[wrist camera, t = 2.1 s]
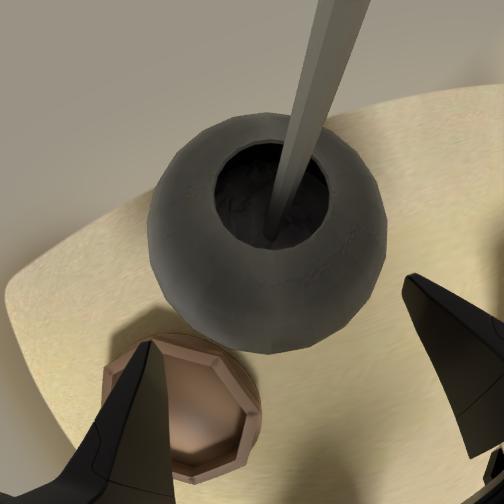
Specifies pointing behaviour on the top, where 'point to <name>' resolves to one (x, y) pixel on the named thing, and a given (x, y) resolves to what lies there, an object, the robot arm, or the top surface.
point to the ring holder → (201, 406)
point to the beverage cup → (273, 214)
